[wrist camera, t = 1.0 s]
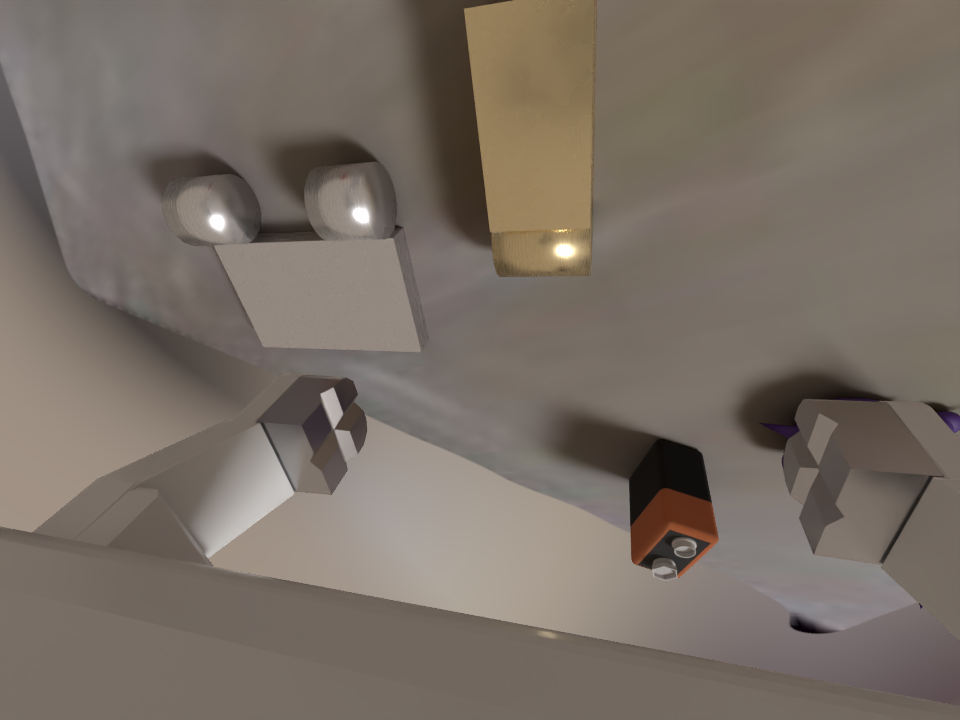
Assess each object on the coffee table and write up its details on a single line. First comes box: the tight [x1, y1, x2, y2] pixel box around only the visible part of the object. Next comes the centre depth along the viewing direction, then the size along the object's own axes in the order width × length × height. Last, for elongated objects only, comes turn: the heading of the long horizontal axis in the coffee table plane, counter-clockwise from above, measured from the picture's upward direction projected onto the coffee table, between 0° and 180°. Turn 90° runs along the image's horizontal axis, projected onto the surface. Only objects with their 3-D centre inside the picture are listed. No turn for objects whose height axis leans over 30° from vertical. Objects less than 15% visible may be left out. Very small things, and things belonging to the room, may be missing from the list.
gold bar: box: [464, 0, 597, 277], centre depth 27 cm, size 6×15×5 cm, turn 7°
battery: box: [629, 440, 719, 581], centre depth 40 cm, size 4×7×10 cm, turn 168°
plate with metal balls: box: [162, 162, 429, 352], centre depth 36 cm, size 16×16×5 cm
